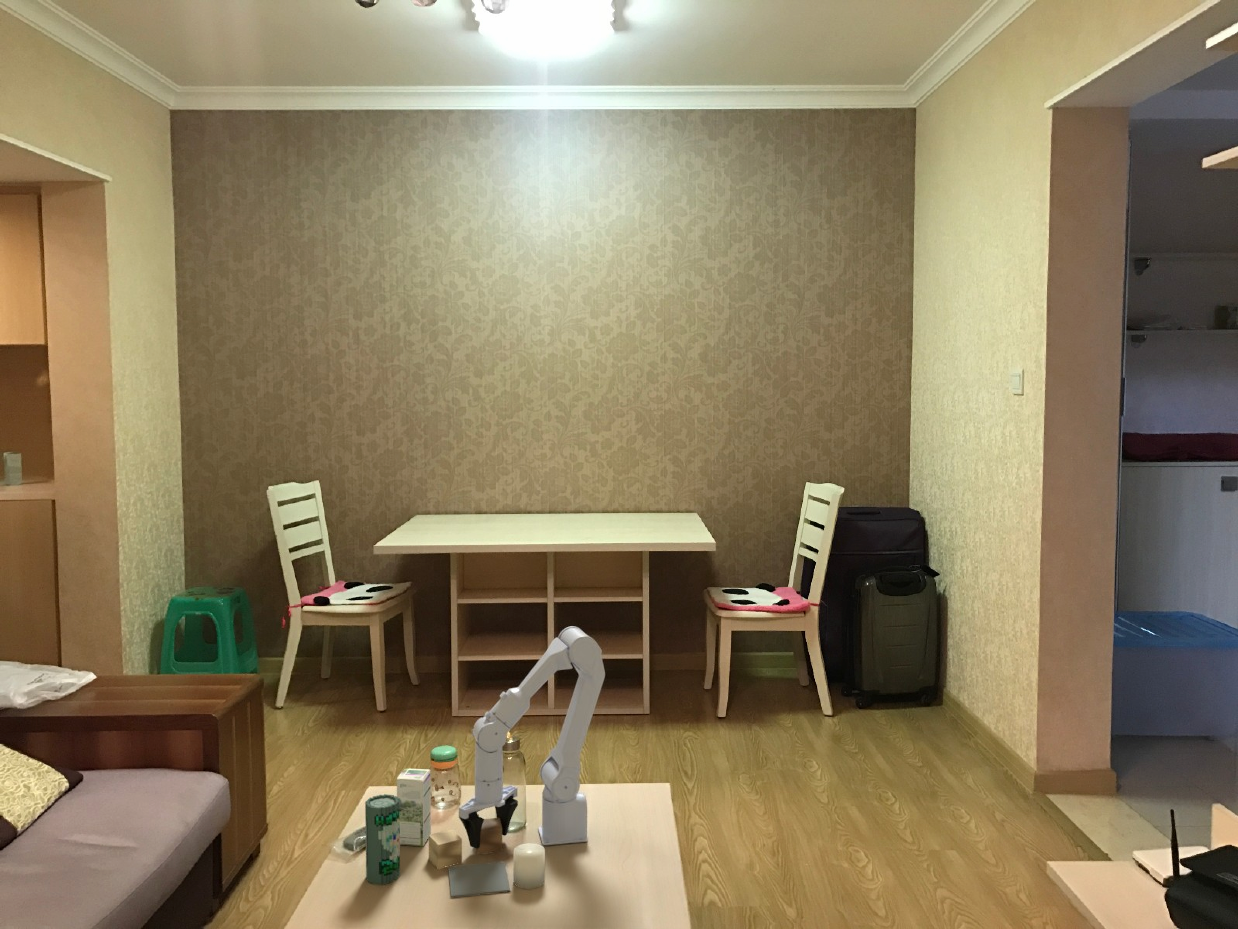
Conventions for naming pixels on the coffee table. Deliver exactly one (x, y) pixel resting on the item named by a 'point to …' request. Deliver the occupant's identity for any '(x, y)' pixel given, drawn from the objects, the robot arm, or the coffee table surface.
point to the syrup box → (414, 806)
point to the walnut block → (490, 836)
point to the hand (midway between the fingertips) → (488, 840)
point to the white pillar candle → (529, 865)
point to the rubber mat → (478, 879)
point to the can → (382, 839)
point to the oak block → (445, 848)
